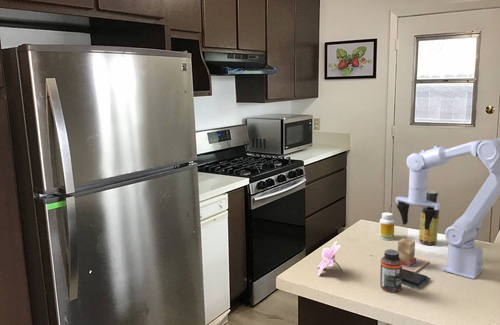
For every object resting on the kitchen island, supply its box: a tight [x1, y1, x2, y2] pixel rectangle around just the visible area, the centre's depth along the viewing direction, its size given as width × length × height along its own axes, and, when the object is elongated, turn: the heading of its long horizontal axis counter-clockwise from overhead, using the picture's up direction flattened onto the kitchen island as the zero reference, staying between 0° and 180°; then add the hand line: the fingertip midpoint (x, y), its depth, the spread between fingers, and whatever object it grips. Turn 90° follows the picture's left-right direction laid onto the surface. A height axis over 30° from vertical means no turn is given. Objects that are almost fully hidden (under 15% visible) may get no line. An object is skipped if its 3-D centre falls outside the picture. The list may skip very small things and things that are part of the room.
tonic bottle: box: [418, 189, 440, 246], centre depth 160 cm, size 7×6×20 cm
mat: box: [402, 257, 430, 273], centre depth 144 cm, size 11×11×1 cm
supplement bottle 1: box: [378, 211, 395, 241], centre depth 167 cm, size 5×5×10 cm
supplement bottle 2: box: [379, 248, 402, 293], centre depth 126 cm, size 6×6×11 cm
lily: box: [317, 240, 343, 277], centre depth 139 cm, size 12×12×10 cm
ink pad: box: [401, 269, 432, 290], centre depth 132 cm, size 10×8×1 cm
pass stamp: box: [397, 237, 417, 267], centre depth 143 cm, size 5×5×8 cm
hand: (415, 226), depth 149 cm, fingers open, 7 cm apart
